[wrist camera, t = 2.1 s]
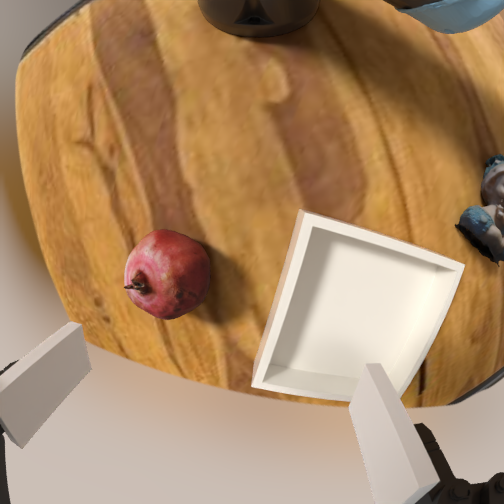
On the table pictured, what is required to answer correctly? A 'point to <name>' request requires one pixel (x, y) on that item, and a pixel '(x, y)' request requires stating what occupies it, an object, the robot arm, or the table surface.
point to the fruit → (167, 274)
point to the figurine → (488, 213)
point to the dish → (351, 309)
